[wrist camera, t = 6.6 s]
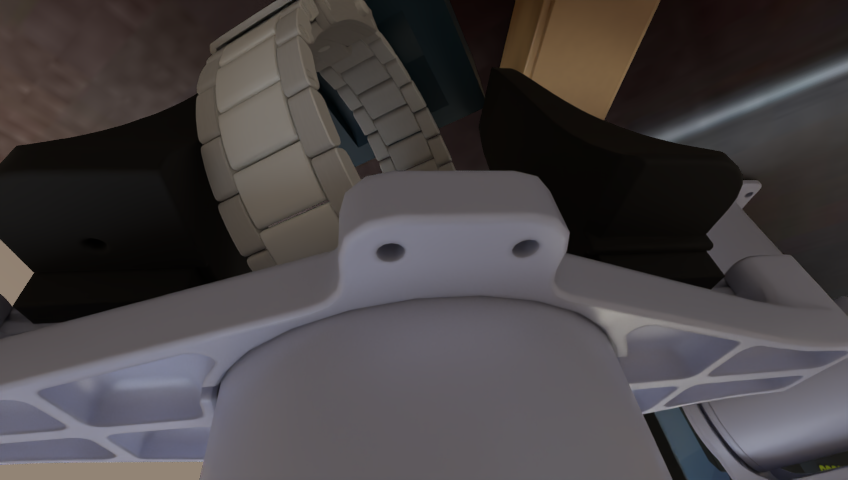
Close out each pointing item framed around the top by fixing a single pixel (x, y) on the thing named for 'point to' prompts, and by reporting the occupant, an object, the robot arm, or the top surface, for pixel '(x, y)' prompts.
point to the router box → (707, 450)
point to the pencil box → (577, 46)
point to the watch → (325, 112)
